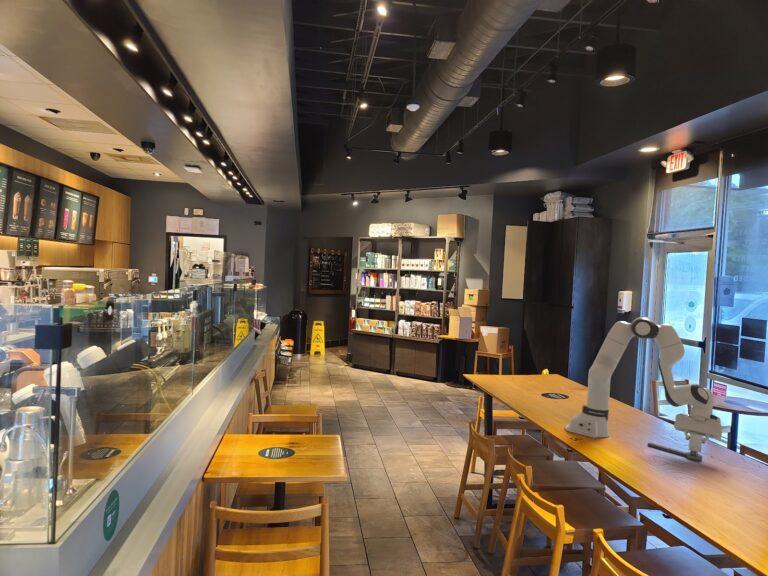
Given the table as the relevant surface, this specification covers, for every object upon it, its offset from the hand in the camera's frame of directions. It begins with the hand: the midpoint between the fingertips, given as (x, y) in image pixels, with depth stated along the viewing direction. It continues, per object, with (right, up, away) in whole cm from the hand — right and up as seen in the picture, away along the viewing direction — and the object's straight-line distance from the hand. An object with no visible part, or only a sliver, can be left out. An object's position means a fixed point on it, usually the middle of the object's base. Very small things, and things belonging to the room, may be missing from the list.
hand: (695, 441), depth 254 cm
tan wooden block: (0, -4, +1) cm, 4 cm away
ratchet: (-6, -8, +7) cm, 12 cm away
